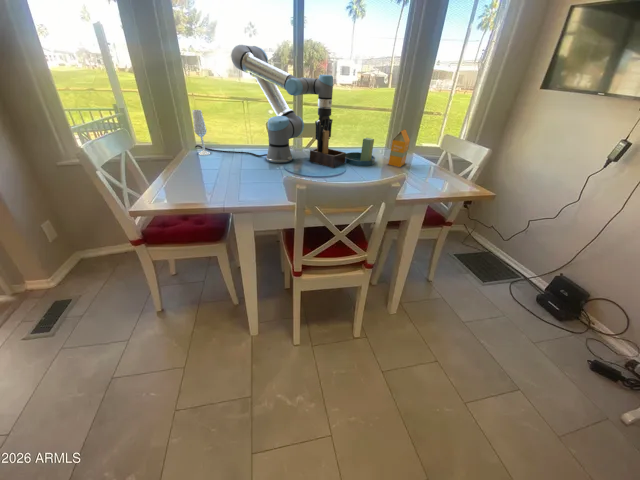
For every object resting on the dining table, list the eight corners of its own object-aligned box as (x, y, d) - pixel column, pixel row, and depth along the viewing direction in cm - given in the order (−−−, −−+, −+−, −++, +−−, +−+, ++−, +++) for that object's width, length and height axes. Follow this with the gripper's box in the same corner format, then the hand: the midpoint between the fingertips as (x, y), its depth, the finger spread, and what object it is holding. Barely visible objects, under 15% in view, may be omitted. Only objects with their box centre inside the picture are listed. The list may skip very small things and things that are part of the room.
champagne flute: (208, 155, 163) (200, 111, 150) (196, 154, 163) (188, 110, 150) (212, 152, 168) (205, 109, 155) (201, 151, 168) (193, 109, 155)
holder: (309, 161, 163) (310, 150, 159) (321, 157, 171) (322, 146, 167) (333, 168, 154) (334, 156, 150) (344, 163, 162) (345, 152, 158)
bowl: (337, 162, 164) (337, 156, 162) (353, 156, 177) (354, 150, 175) (364, 169, 155) (365, 163, 153) (379, 162, 168) (380, 156, 166)
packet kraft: (317, 155, 162) (318, 130, 155) (321, 154, 165) (322, 129, 158) (323, 157, 160) (325, 131, 152) (327, 155, 163) (329, 130, 155)
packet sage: (359, 162, 163) (363, 138, 156) (363, 161, 166) (366, 137, 159) (367, 164, 161) (370, 140, 153) (370, 163, 164) (374, 139, 156)
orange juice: (404, 164, 167) (412, 130, 156) (400, 167, 161) (407, 132, 150) (392, 161, 170) (399, 128, 160) (387, 165, 164) (394, 130, 153)
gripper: (320, 109, 141) (318, 155, 153) (339, 107, 152) (336, 149, 165) (309, 107, 144) (308, 152, 157) (328, 105, 156) (326, 147, 169)
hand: (322, 151), depth 161 cm, fingers closed on packet kraft, 4 cm apart
